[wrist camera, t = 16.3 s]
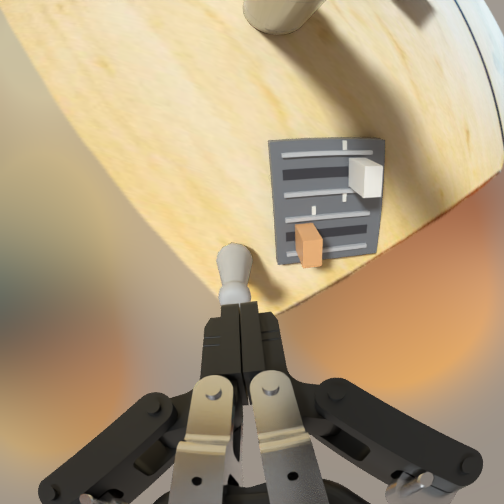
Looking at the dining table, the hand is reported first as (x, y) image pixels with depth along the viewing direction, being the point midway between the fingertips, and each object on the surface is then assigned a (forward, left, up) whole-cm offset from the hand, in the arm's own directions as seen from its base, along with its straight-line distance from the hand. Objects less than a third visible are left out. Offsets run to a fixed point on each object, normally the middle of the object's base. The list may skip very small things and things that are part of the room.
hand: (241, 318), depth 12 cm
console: (+7, +14, -32) cm, 36 cm away
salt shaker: (+15, -2, -32) cm, 36 cm away
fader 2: (+2, +18, -30) cm, 35 cm away
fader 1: (+12, +9, -30) cm, 33 cm away
